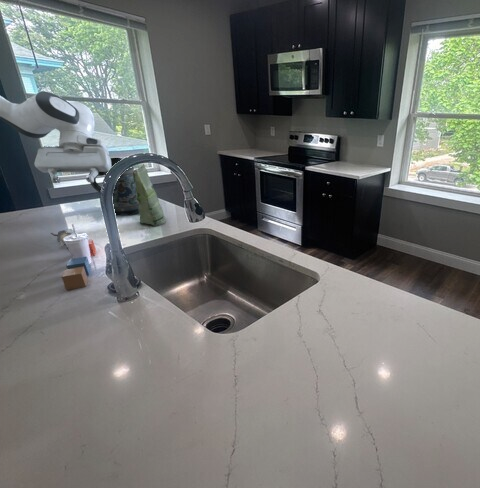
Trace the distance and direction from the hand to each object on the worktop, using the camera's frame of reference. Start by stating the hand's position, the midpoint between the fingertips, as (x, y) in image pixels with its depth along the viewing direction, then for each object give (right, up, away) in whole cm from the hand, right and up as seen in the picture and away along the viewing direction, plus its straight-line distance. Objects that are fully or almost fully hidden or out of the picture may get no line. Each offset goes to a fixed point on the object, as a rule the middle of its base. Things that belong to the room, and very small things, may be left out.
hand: (72, 181), depth 96 cm
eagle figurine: (-13, -21, +14) cm, 28 cm away
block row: (+3, -28, 0) cm, 28 cm away
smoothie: (+2, -27, +3) cm, 27 cm away
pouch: (+5, -11, +37) cm, 39 cm away
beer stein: (-15, -4, +48) cm, 51 cm away
